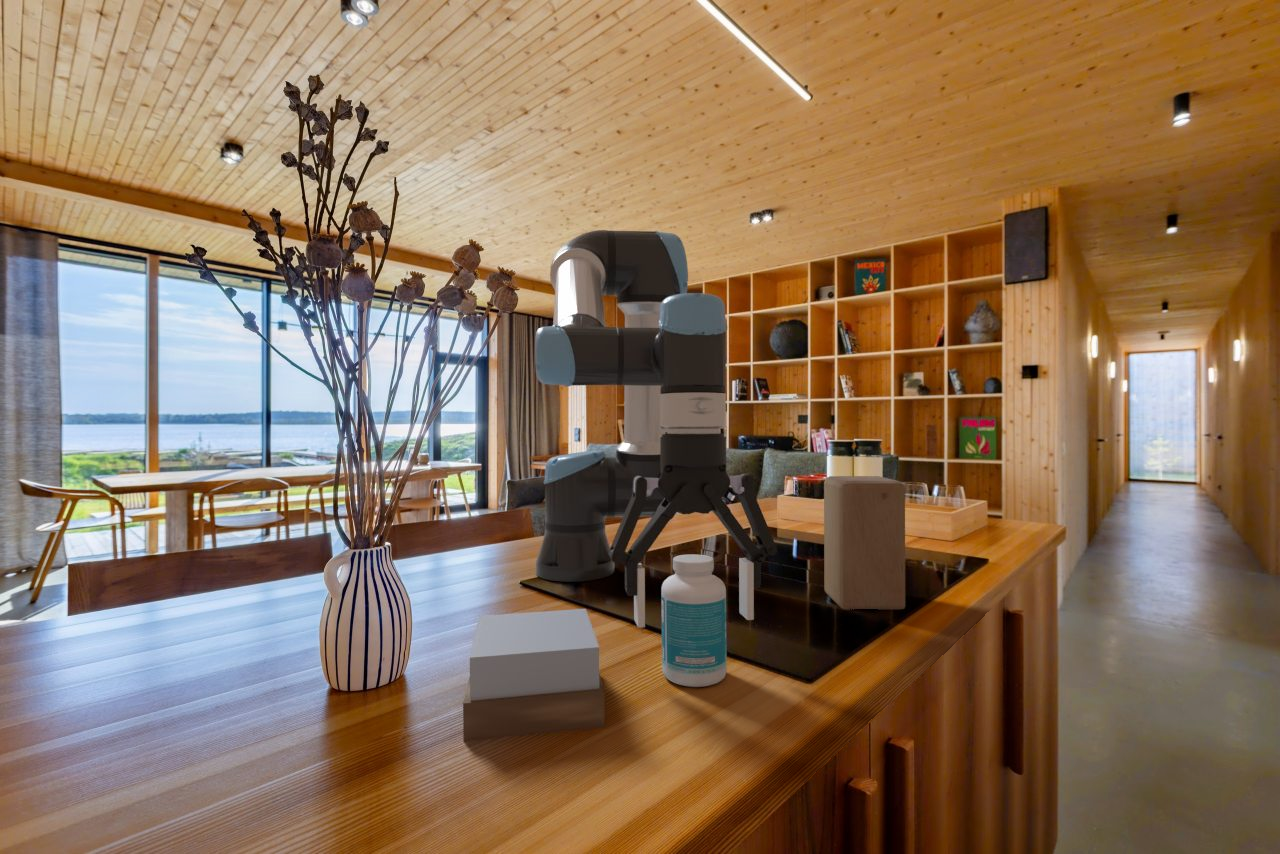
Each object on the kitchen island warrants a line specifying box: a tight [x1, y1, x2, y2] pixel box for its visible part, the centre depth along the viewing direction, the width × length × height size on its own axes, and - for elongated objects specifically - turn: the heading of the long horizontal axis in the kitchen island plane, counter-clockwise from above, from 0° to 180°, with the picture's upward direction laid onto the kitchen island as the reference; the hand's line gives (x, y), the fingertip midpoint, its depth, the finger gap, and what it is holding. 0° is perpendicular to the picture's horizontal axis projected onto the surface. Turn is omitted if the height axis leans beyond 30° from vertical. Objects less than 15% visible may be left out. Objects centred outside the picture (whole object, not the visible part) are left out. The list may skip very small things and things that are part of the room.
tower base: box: [462, 672, 606, 742], centre depth 61 cm, size 13×13×4 cm
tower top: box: [469, 608, 600, 701], centre depth 61 cm, size 12×12×4 cm
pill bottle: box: [660, 553, 728, 688], centre depth 67 cm, size 8×7×14 cm
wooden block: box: [823, 475, 906, 611], centre depth 94 cm, size 10×10×20 cm
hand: (693, 620), depth 67 cm, fingers open, 12 cm apart
